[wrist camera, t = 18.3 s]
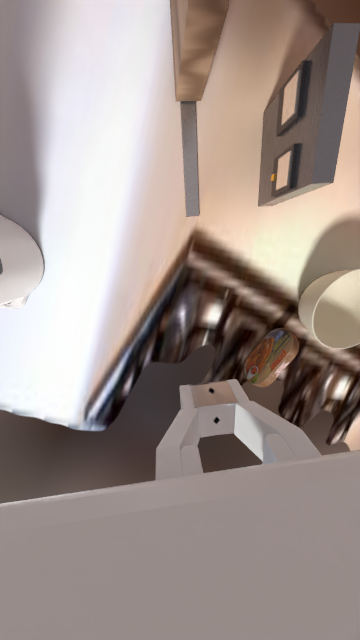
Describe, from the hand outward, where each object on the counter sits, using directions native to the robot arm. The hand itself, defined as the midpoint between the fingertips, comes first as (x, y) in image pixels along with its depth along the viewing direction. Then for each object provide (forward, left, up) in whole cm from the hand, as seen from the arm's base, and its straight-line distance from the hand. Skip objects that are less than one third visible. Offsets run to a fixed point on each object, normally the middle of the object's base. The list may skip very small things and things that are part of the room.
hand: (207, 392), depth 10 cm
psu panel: (+13, +26, -33) cm, 44 cm away
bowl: (+34, -6, -33) cm, 48 cm away
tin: (+22, -18, -33) cm, 44 cm away
